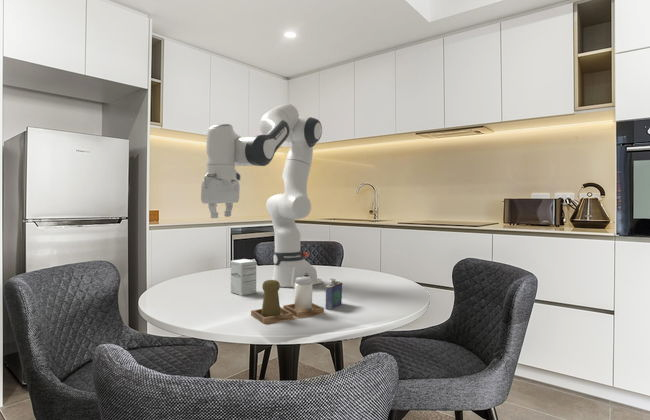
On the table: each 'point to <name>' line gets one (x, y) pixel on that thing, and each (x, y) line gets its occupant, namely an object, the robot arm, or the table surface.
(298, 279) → the salt shaker
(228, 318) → the table surface
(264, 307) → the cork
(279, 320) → the caddy
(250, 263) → the supplement box
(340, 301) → the flask
